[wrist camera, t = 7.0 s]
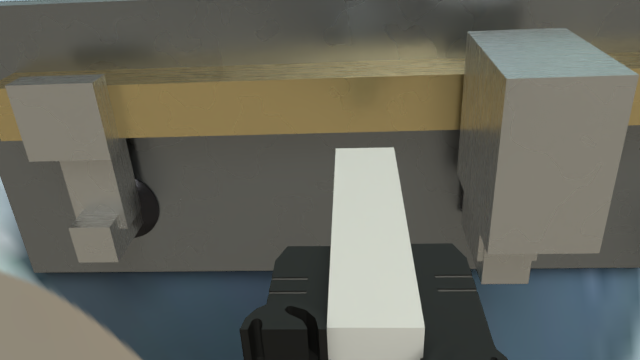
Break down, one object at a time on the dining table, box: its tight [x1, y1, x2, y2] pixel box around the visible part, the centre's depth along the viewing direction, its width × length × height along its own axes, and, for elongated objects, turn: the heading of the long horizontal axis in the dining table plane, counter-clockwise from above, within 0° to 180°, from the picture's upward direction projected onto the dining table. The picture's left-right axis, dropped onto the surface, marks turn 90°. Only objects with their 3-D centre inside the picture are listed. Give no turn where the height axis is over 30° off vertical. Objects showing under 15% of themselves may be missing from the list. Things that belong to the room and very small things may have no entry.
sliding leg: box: [457, 28, 639, 284], centre depth 18 cm, size 8×3×7 cm, turn 2°
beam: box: [0, 52, 640, 263], centre depth 21 cm, size 7×25×3 cm, turn 93°
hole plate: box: [0, 0, 640, 273], centre depth 23 cm, size 12×28×1 cm, turn 93°
